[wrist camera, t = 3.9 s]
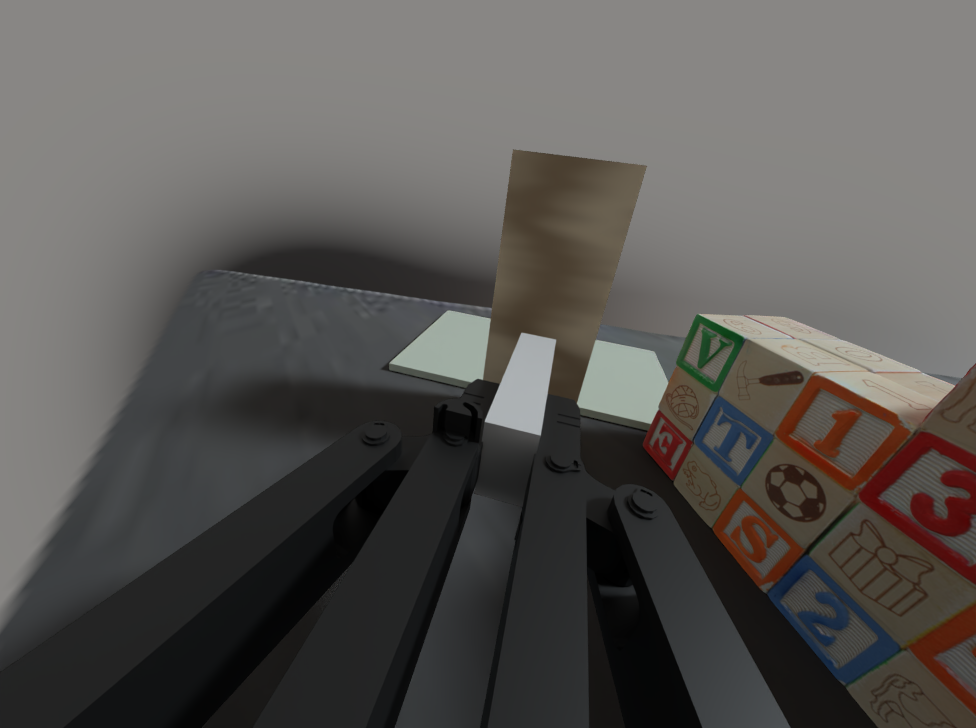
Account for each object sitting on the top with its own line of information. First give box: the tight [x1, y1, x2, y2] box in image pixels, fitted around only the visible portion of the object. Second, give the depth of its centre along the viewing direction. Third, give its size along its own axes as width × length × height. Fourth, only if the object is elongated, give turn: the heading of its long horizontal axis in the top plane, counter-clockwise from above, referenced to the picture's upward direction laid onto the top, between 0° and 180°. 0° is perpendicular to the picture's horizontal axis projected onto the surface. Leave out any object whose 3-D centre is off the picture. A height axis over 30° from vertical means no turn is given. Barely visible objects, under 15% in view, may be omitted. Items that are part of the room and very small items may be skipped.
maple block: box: [483, 150, 647, 403], centre depth 19 cm, size 5×5×15 cm
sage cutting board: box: [389, 310, 668, 431], centre depth 31 cm, size 22×14×1 cm, turn 76°
